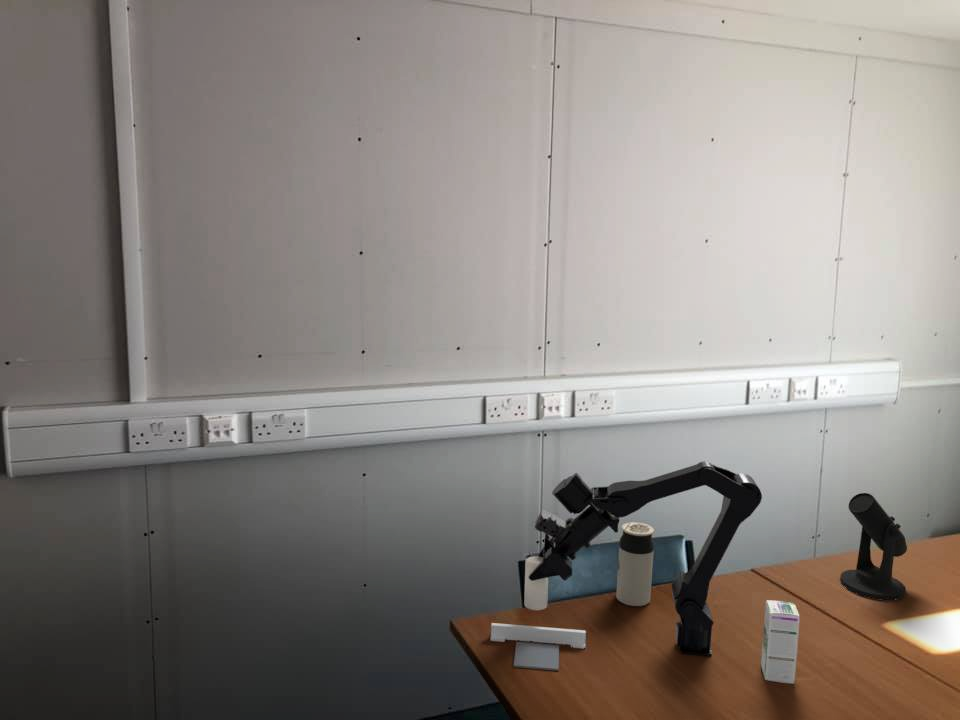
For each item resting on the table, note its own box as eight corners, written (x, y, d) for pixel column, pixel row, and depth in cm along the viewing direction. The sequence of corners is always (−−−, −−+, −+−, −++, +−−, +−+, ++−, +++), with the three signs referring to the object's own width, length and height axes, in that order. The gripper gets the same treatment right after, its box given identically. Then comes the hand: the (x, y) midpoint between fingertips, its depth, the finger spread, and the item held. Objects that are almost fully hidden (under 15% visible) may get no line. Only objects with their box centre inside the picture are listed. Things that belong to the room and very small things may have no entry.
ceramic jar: (547, 600, 169) (549, 557, 167) (547, 610, 164) (548, 566, 163) (524, 598, 170) (526, 555, 168) (523, 609, 165) (524, 565, 163)
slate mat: (558, 647, 162) (559, 645, 162) (558, 670, 153) (558, 668, 153) (516, 643, 163) (516, 641, 163) (513, 666, 154) (513, 665, 154)
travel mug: (654, 597, 185) (659, 526, 183) (642, 610, 179) (647, 537, 176) (623, 588, 190) (628, 519, 187) (610, 601, 183) (615, 529, 180)
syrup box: (795, 684, 151) (802, 615, 148) (763, 680, 152) (770, 612, 150) (789, 668, 156) (796, 602, 154) (759, 664, 157) (765, 598, 155)
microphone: (822, 578, 199) (832, 485, 195) (875, 571, 204) (886, 480, 200) (866, 604, 185) (878, 505, 181) (922, 596, 190) (935, 499, 186)
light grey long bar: (584, 641, 165) (585, 628, 164) (585, 648, 162) (585, 635, 161) (491, 633, 167) (492, 620, 166) (490, 640, 164) (491, 627, 163)
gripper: (559, 486, 172) (508, 530, 175) (557, 516, 153) (501, 564, 156) (593, 522, 172) (541, 565, 175) (595, 556, 154) (538, 604, 157)
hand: (530, 573), depth 166 cm, fingers closed on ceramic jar, 5 cm apart
